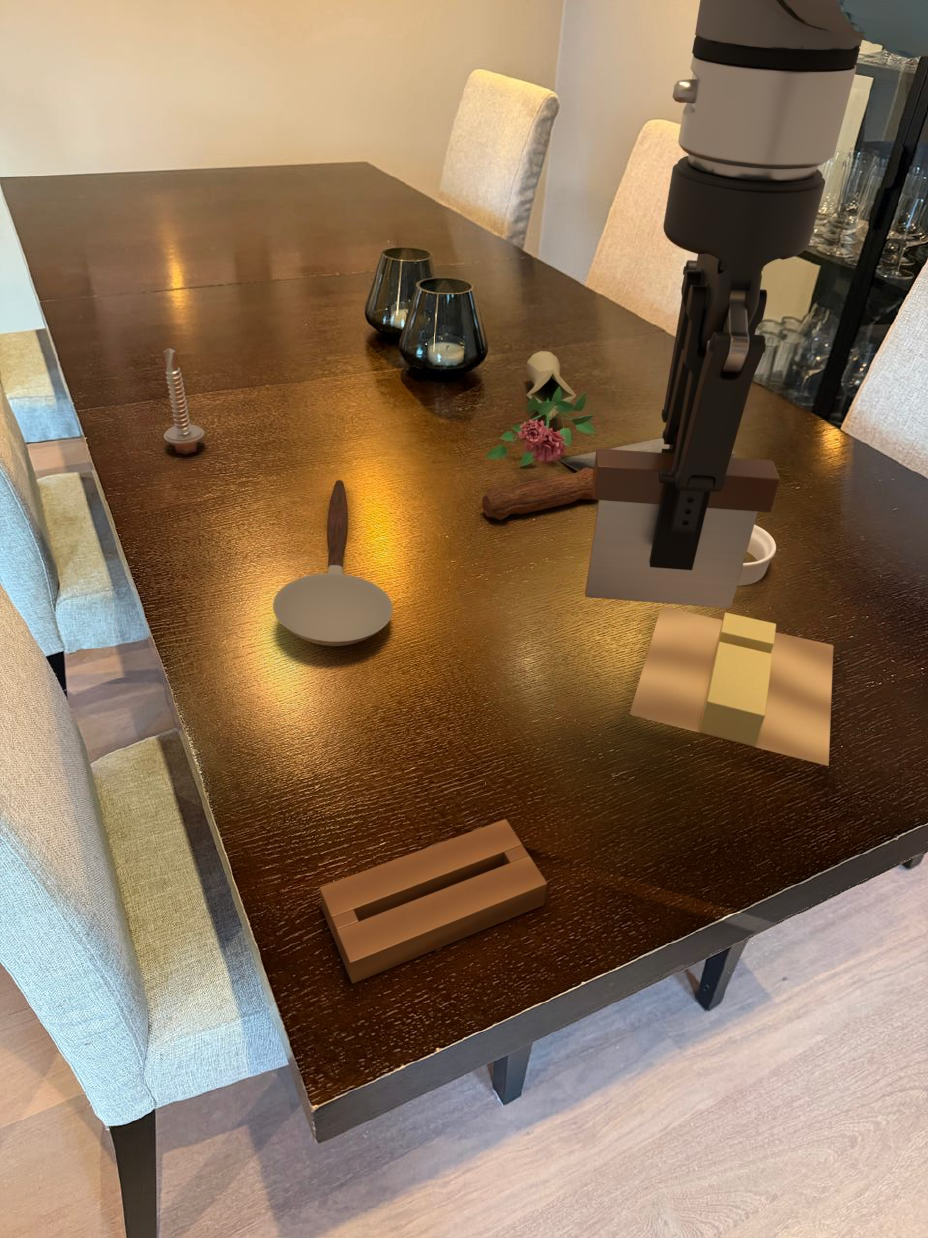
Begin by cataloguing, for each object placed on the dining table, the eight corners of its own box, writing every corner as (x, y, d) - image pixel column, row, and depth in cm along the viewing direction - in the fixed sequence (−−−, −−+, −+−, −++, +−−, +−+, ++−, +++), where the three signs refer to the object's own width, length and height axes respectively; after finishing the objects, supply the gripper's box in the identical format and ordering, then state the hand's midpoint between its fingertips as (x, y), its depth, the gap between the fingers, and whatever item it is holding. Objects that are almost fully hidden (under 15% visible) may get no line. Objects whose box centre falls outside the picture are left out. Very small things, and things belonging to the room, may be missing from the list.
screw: (213, 451, 111) (176, 462, 108) (196, 437, 114) (160, 447, 111) (197, 350, 103) (157, 359, 100) (179, 336, 106) (140, 345, 103)
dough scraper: (740, 617, 61) (780, 479, 54) (578, 605, 61) (597, 466, 54) (735, 596, 62) (773, 459, 56) (577, 584, 63) (596, 447, 56)
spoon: (268, 666, 79) (268, 638, 77) (292, 490, 105) (292, 467, 104) (391, 670, 80) (394, 643, 79) (384, 496, 107) (386, 473, 105)
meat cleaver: (679, 433, 119) (685, 405, 116) (734, 472, 111) (741, 442, 109) (450, 484, 107) (451, 454, 105) (494, 531, 99) (495, 500, 97)
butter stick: (754, 746, 72) (765, 715, 70) (698, 732, 73) (707, 701, 71) (762, 684, 78) (772, 653, 76) (710, 671, 79) (719, 641, 77)
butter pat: (764, 674, 79) (774, 643, 77) (712, 661, 80) (721, 631, 78) (766, 653, 81) (776, 623, 79) (716, 642, 82) (725, 611, 80)
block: (544, 905, 62) (547, 883, 60) (352, 984, 57) (350, 963, 55) (503, 840, 66) (506, 818, 64) (321, 909, 61) (319, 887, 59)
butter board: (823, 778, 72) (829, 766, 71) (626, 726, 75) (629, 714, 74) (829, 657, 84) (833, 644, 83) (658, 617, 87) (661, 605, 86)
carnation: (559, 438, 133) (581, 514, 101) (482, 409, 131) (480, 478, 99) (591, 361, 128) (625, 416, 96) (511, 331, 126) (519, 376, 95)
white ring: (697, 602, 90) (706, 567, 87) (667, 553, 96) (674, 518, 94) (780, 596, 91) (791, 560, 88) (744, 547, 98) (754, 513, 95)
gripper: (661, 128, 51) (607, 489, 65) (692, 195, 39) (616, 619, 53) (795, 135, 51) (710, 496, 65) (868, 205, 38) (743, 629, 53)
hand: (668, 551), depth 59 cm, fingers closed on dough scraper, 2 cm apart
